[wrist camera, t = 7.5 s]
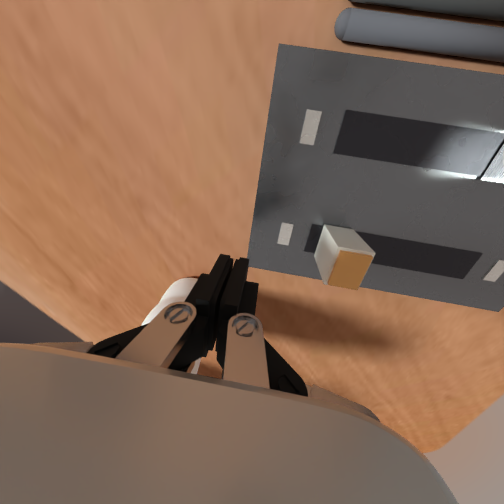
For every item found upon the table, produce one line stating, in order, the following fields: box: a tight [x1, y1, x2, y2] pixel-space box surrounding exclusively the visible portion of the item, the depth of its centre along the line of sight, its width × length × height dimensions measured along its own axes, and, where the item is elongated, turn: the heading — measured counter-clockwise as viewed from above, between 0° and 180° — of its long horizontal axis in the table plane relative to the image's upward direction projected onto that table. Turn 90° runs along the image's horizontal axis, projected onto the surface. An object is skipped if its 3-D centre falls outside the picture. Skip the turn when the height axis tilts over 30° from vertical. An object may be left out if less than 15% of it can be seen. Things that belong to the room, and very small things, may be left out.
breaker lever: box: [314, 224, 376, 290], centre depth 15 cm, size 3×2×5 cm
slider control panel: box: [247, 44, 504, 312], centre depth 15 cm, size 16×24×8 cm, turn 82°
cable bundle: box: [334, 0, 504, 62], centre depth 12 cm, size 3×15×1 cm, turn 82°
